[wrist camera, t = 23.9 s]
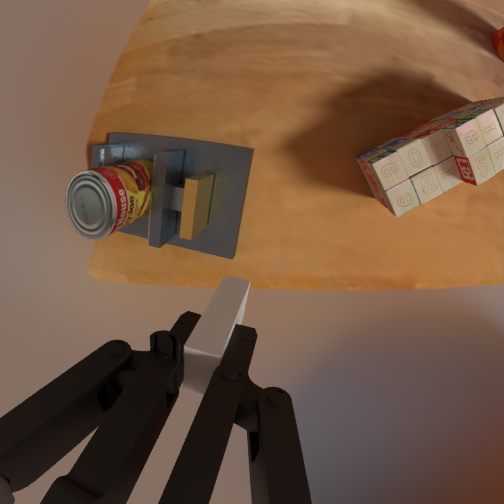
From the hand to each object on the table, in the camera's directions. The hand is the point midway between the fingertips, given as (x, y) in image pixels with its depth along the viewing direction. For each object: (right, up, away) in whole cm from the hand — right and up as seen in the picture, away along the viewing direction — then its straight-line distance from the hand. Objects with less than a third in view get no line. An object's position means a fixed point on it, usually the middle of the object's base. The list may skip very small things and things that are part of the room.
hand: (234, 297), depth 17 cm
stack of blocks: (+25, +17, +14) cm, 33 cm away
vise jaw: (-8, +10, +20) cm, 24 cm away
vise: (-10, +11, +22) cm, 27 cm away
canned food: (-14, +12, +21) cm, 28 cm away
